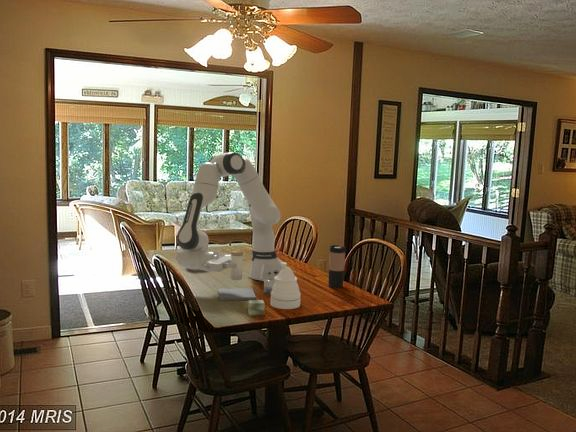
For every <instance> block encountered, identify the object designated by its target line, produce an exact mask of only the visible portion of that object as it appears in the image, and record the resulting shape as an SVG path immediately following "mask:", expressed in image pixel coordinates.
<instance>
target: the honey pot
mask: <svg viewBox="0 0 576 432" xmlns="http://www.w3.org/2000/svg"><path fill="white" fill-rule="evenodd" d="M281 266H282V267H284V268H283V269H282V270H281V271H280V273H279V275H278V276H275V277H274V280H276V281H275V284H274V287H273V290H272V291H271V294H270V306H272V308H276V309H281V310H293V309H297V308H299V307H301V295H302V294H301V291H300V288H299V284H298V282H297V281H298V277H296V276H295V273H294V272H293V269H292V268H291V267H289V266H287V262H284V261H282V262H281Z"/></svg>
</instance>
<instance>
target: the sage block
mask: <svg viewBox="0 0 576 432" xmlns="http://www.w3.org/2000/svg"><path fill="white" fill-rule="evenodd" d="M247 301H248V308H247V309H248V310H247V313H248V315H249V316H264V315H265V301H264V300H263V299H256V300H247Z"/></svg>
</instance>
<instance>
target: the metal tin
mask: <svg viewBox="0 0 576 432" xmlns="http://www.w3.org/2000/svg"><path fill="white" fill-rule="evenodd" d="M275 281H276V280H274V279H272V278H268V279H264V281H263V293H264V294H265V295H271V291H272V290H273V287H274V284H275Z"/></svg>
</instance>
